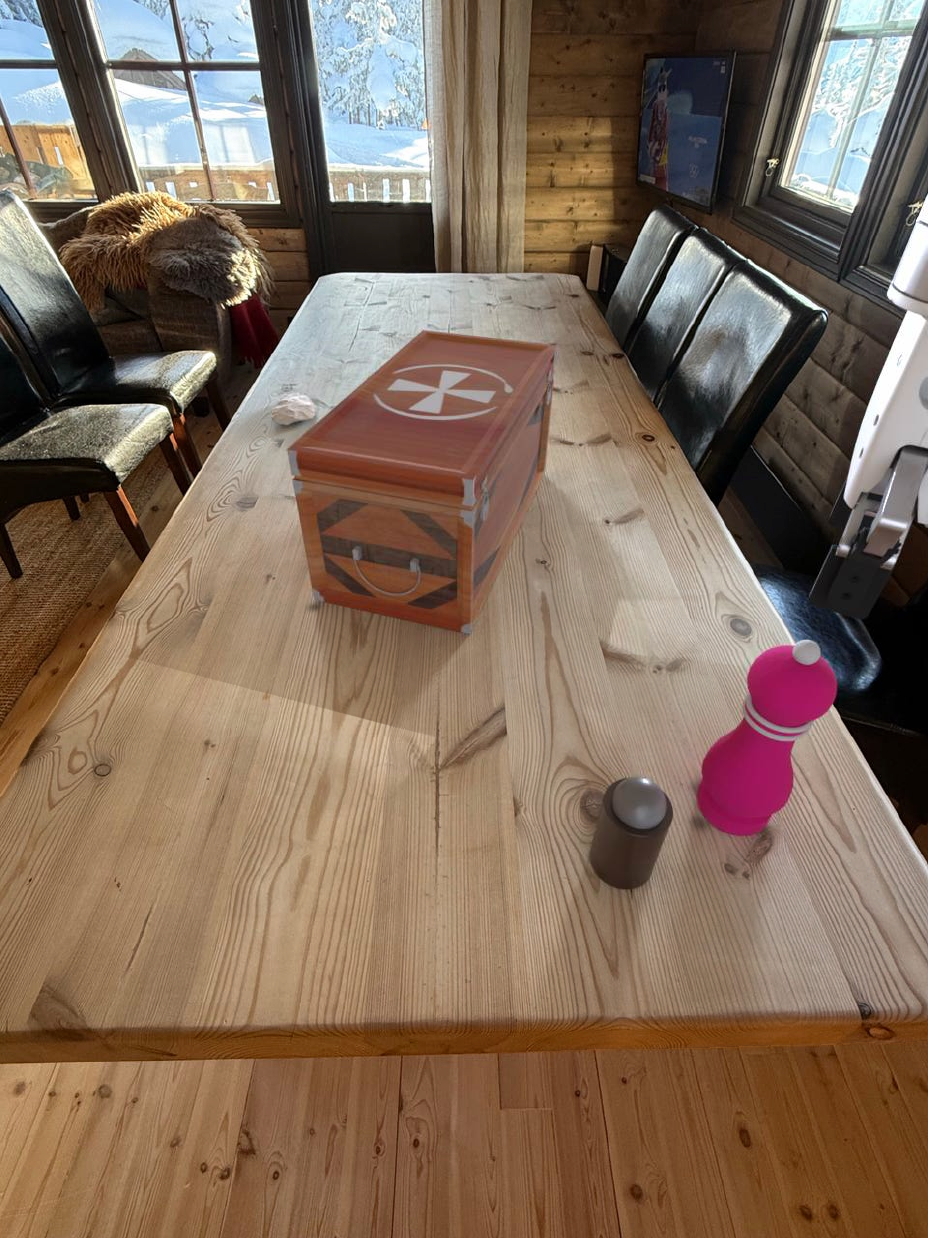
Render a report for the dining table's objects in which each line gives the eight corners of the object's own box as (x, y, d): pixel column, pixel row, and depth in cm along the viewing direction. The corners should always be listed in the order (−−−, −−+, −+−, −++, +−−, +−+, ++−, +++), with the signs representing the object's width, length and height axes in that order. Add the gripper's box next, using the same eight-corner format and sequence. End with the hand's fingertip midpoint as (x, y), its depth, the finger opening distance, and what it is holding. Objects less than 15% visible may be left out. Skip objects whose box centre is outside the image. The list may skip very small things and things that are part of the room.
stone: (269, 429, 116) (266, 418, 115) (278, 397, 127) (276, 387, 125) (314, 427, 117) (312, 416, 116) (319, 396, 127) (318, 386, 126)
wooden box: (547, 473, 105) (560, 344, 92) (472, 637, 76) (475, 482, 63) (427, 454, 110) (423, 329, 97) (312, 601, 80) (284, 450, 67)
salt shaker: (660, 849, 56) (688, 776, 49) (641, 901, 52) (668, 831, 46) (602, 822, 58) (621, 749, 51) (580, 871, 54) (598, 799, 48)
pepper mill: (686, 767, 62) (748, 605, 49) (765, 777, 62) (849, 614, 48) (695, 836, 57) (768, 674, 44) (782, 847, 56) (882, 686, 43)
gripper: (1118, 343, 24) (903, 672, 35) (1064, 245, 35) (914, 518, 46) (888, 309, 26) (757, 625, 38) (907, 228, 38) (802, 490, 49)
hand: (844, 566), depth 42 cm, fingers open, 9 cm apart
